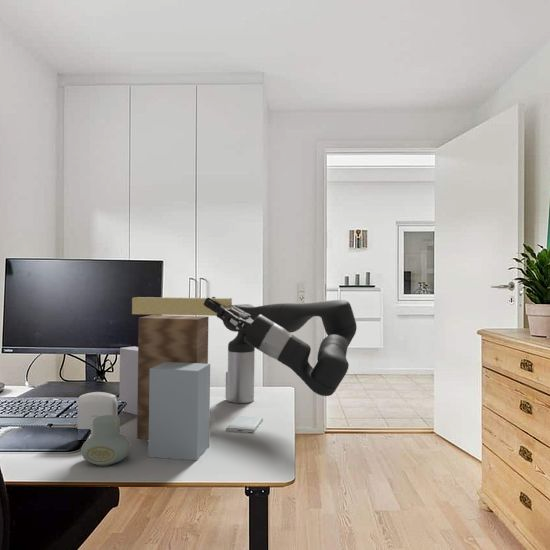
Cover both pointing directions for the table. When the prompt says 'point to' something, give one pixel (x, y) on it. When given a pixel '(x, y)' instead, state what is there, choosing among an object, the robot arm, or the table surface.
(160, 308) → the bar
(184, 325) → the stand
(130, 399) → the game console
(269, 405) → the table surface
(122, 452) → the air freshener
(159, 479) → the table surface
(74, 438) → the table surface
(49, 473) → the table surface
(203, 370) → the block
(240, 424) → the hard drive
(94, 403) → the photo printer
